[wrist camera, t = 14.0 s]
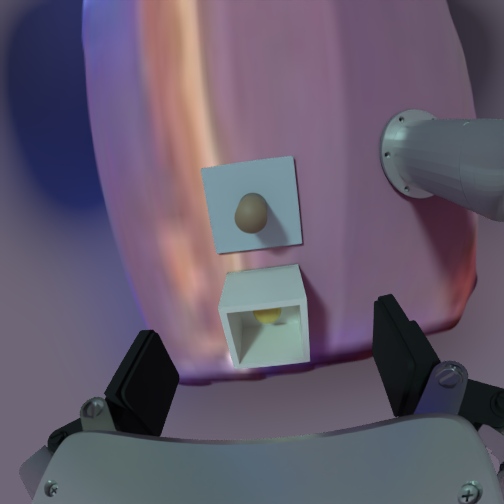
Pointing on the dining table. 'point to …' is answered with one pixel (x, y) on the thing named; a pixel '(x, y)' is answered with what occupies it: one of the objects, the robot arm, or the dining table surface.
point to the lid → (253, 204)
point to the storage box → (265, 317)
